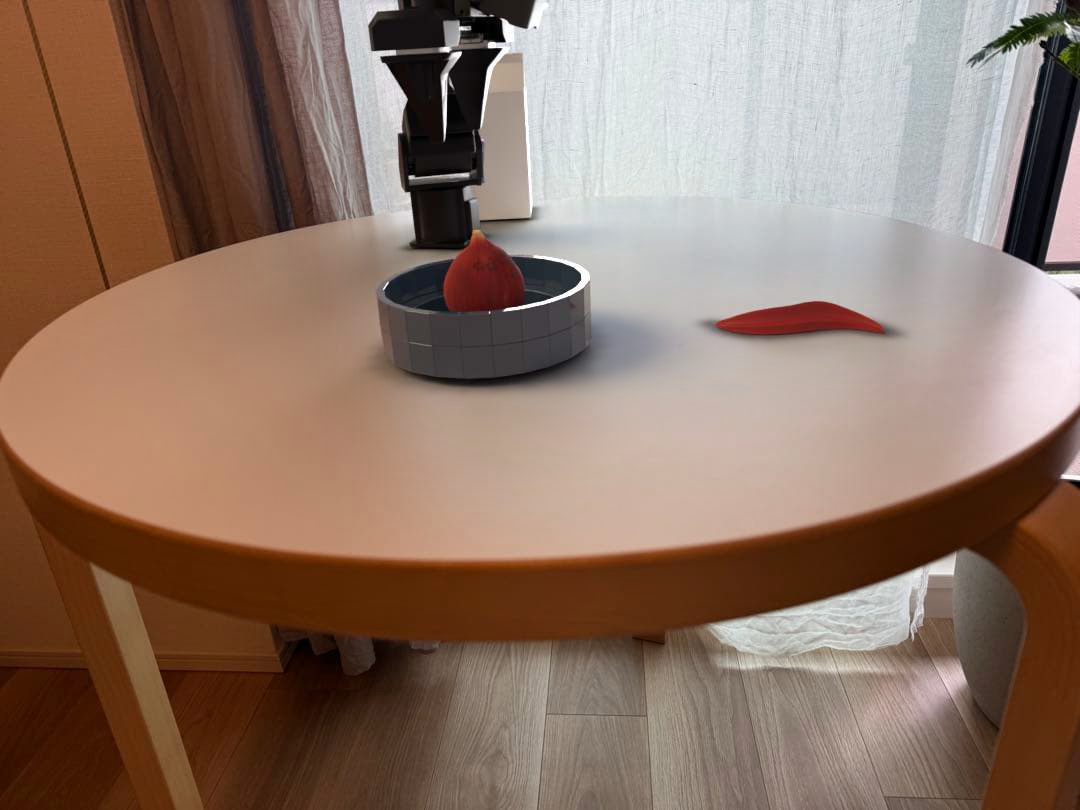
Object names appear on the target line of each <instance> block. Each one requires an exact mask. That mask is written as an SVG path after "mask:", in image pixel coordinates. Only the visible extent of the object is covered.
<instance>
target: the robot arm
mask: <svg viewBox="0 0 1080 810" xmlns="http://www.w3.org/2000/svg"><path fill="white" fill-rule="evenodd" d="M396 2H397V7H398V9H395V10H379V11H376V12H375V14H374V16H373V17H372V19H371V21H369V23H368V25H367V28H368V37H369V43H370V44H369V46H370V51H371V52H385V51H386V52H387V51H395V54H392V55H390V54H389V55H380V56H379V59H380V62H381V64H385V65H386V67H387V69H388V70H389V71H390V74H391V75H392V77H393V79H395V81H396V83H397V84H398V86H399V88H400V89H401V91H402V92H403V94H404V96H405V97H406V102H405V105H404V108H403V110H402V119H401V120H402V121H401V132H398V133H397V155H398V157H397V158H398V171H399V179H400V185H401V186H400V187H401V188H402V190H403V191H404V193H406V194H407V193H409V197H410V204H411V214H412V221H413V231H414V236H415V237H414V239H413V240H411V241H409V247H410V248H443V249H444V248H445V249H446V248H448V249H449V248H451V249H453V248H455V249H461V248H466V247H468V246H469V245H470V242H471V237H472V236H473V234H472V232H473V230H480V231H481V232H482V233H483V231H482V230H481V220H479V208H478V199H477V198H476V197H473V187H472V185H476V186H481V185H482V183H485V180H484V152H485V142H484V140H483V139H482V138H481V137H480V134H479V131H478V130H480V129H481V127H482V121H483V116H484V110H485V104H486V99H487V93H488V87H489V82H490V77H491V73H492V69H493V67H494V65H495V64H496V63H497V62H498V61H499V59H500V58H501V57H502V56H503V55H504V54H506V53H509V50H510V48H511V47H510V46H500V47H499V46H498V47H496V44H497V43H498V44H503V43H515V28H514V27H516V28H520V29H523V30H530V29H531V27H533V29H535V30H538V29H539V27H540V23H541V20H542V16H543V12H544V10H546V9H548V7H549V5H550V1H549V0H397V1H396ZM449 48H451V49H449ZM412 176H413V177H414V178H411V179H410V177H412Z"/></svg>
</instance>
